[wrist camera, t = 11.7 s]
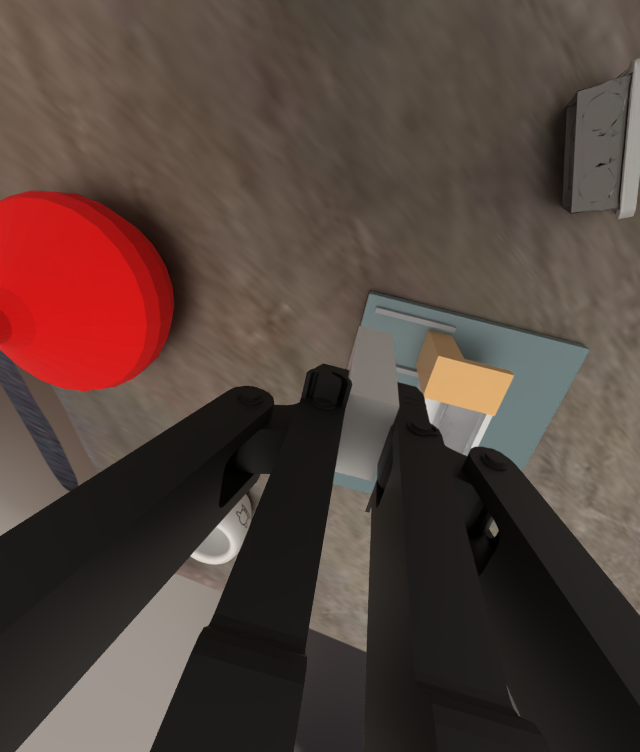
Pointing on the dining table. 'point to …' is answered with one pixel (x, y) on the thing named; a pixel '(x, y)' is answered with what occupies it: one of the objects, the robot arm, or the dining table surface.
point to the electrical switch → (604, 146)
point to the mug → (226, 535)
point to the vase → (79, 291)
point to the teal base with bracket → (487, 346)
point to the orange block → (459, 376)
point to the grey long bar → (457, 426)
